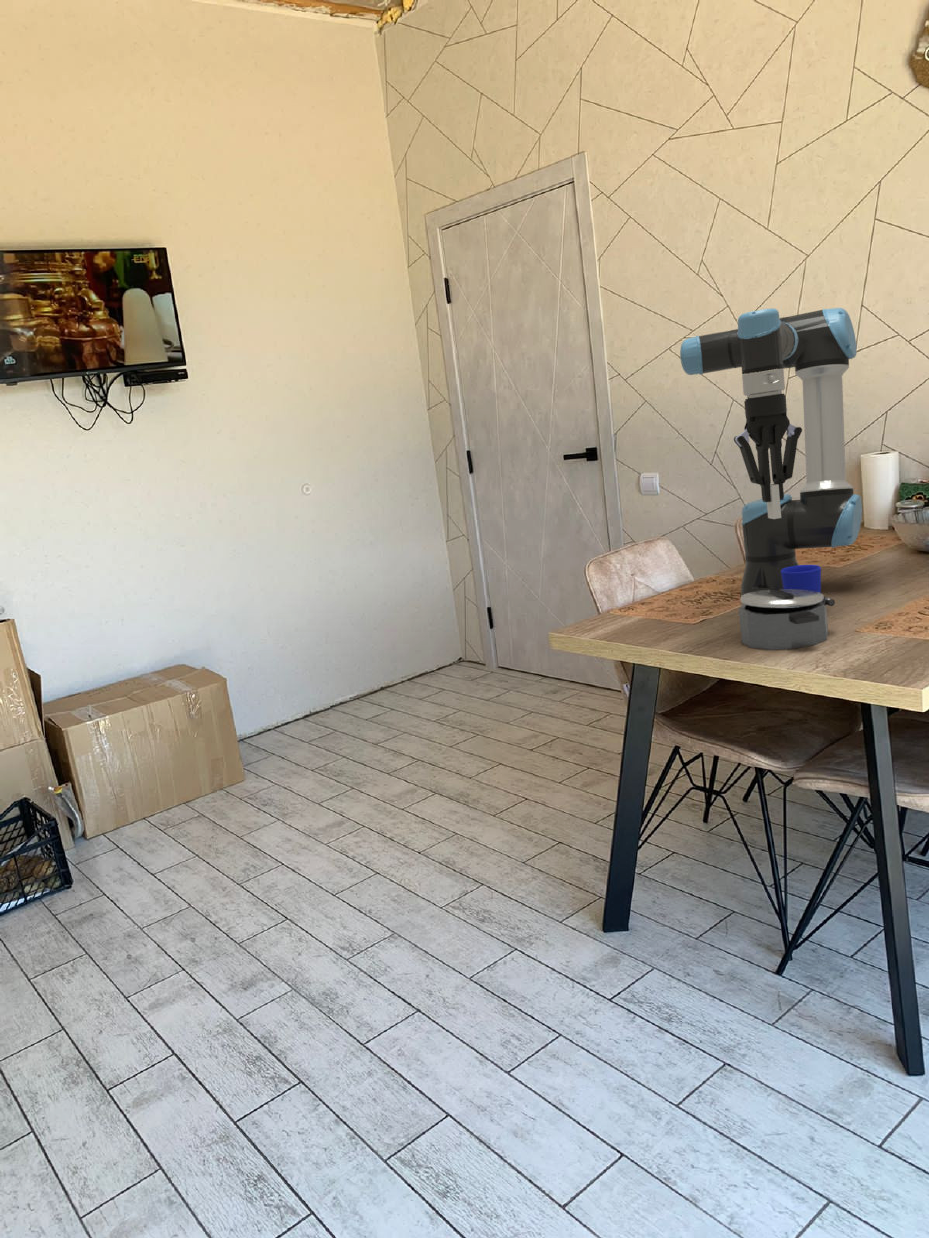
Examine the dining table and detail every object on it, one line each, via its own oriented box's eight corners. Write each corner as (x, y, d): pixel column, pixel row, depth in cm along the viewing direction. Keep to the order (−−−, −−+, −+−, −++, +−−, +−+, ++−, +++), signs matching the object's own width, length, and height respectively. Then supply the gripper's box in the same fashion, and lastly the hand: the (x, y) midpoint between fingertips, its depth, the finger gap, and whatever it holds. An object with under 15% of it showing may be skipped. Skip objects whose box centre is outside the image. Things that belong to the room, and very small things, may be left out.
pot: (725, 634, 197) (722, 601, 196) (805, 620, 198) (803, 588, 197) (769, 657, 175) (766, 621, 174) (859, 642, 177) (856, 606, 175)
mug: (823, 603, 210) (820, 560, 208) (824, 616, 199) (821, 570, 197) (784, 606, 213) (781, 563, 211) (784, 619, 202) (780, 573, 200)
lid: (728, 597, 192) (728, 589, 192) (801, 590, 193) (801, 582, 193) (759, 610, 177) (759, 602, 177) (838, 603, 178) (838, 595, 178)
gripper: (738, 399, 173) (750, 524, 178) (806, 388, 174) (815, 514, 179) (724, 400, 181) (735, 521, 185) (788, 391, 181) (798, 511, 186)
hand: (774, 517), depth 182 cm, fingers closed
